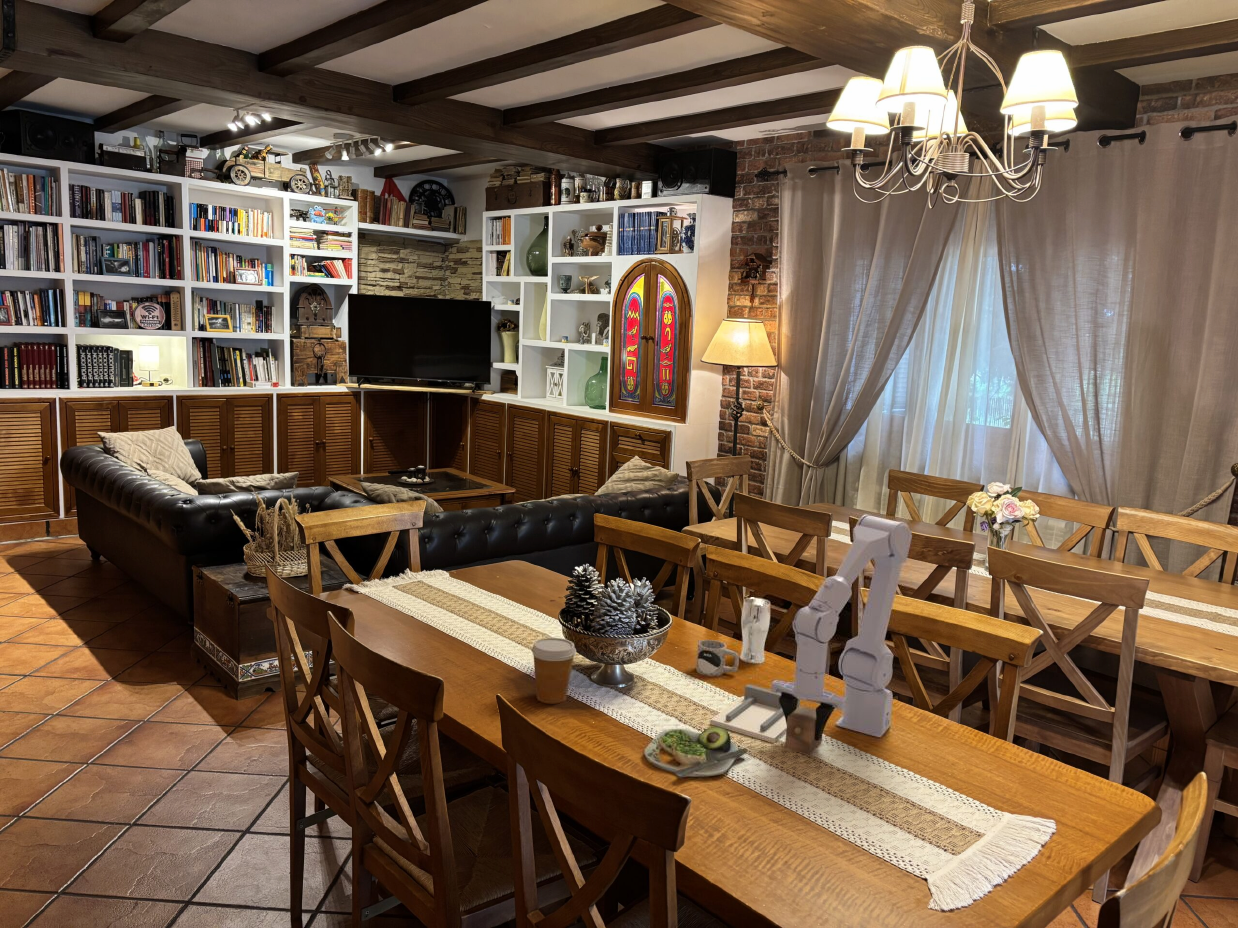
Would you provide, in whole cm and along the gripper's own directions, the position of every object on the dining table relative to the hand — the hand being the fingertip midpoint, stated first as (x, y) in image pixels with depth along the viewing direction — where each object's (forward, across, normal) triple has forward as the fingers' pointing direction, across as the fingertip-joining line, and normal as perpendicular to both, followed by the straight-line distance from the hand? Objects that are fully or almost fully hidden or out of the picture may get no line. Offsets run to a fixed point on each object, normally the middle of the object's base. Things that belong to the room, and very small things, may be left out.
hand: (804, 734), depth 179 cm
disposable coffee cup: (+2, -52, -13) cm, 54 cm away
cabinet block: (+2, 0, 0) cm, 2 cm away
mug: (+2, -31, +25) cm, 40 cm away
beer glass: (+2, -28, +39) cm, 48 cm away
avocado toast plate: (+3, -15, -18) cm, 24 cm away
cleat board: (+2, -12, +5) cm, 13 cm away
